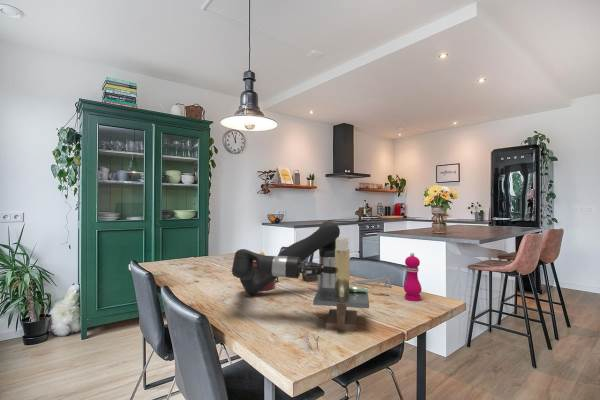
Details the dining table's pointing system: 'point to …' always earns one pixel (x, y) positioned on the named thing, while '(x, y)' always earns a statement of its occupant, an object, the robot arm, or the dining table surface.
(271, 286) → the canister
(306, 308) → the dining table surface
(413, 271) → the pepper mill
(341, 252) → the brushed metal stamp
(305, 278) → the cupcake
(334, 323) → the stand
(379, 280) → the caliper
